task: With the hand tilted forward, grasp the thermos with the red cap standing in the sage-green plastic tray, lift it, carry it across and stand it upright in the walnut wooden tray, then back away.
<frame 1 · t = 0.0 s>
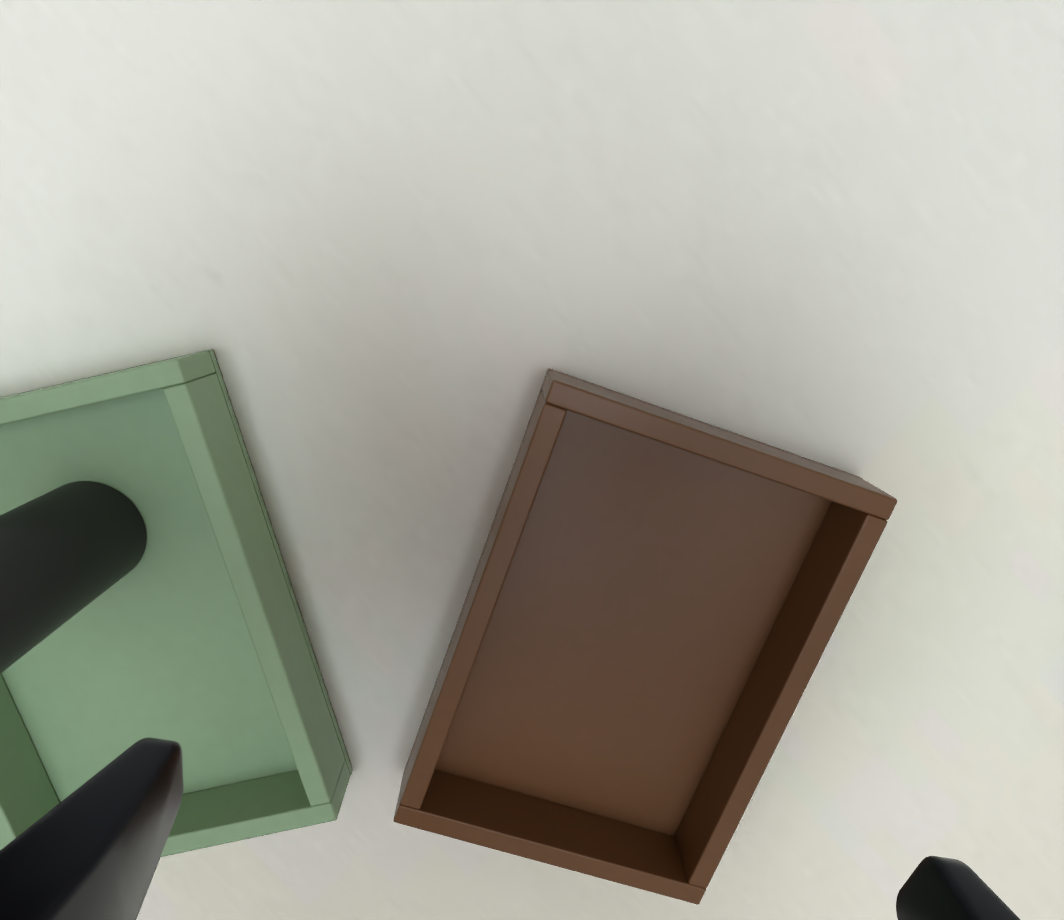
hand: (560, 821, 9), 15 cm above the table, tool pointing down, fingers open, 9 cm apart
green tray: (131, 610, 24), on the table
thermos: (93, 531, 23), resting on green tray
walnut tray: (621, 631, 25), on the table
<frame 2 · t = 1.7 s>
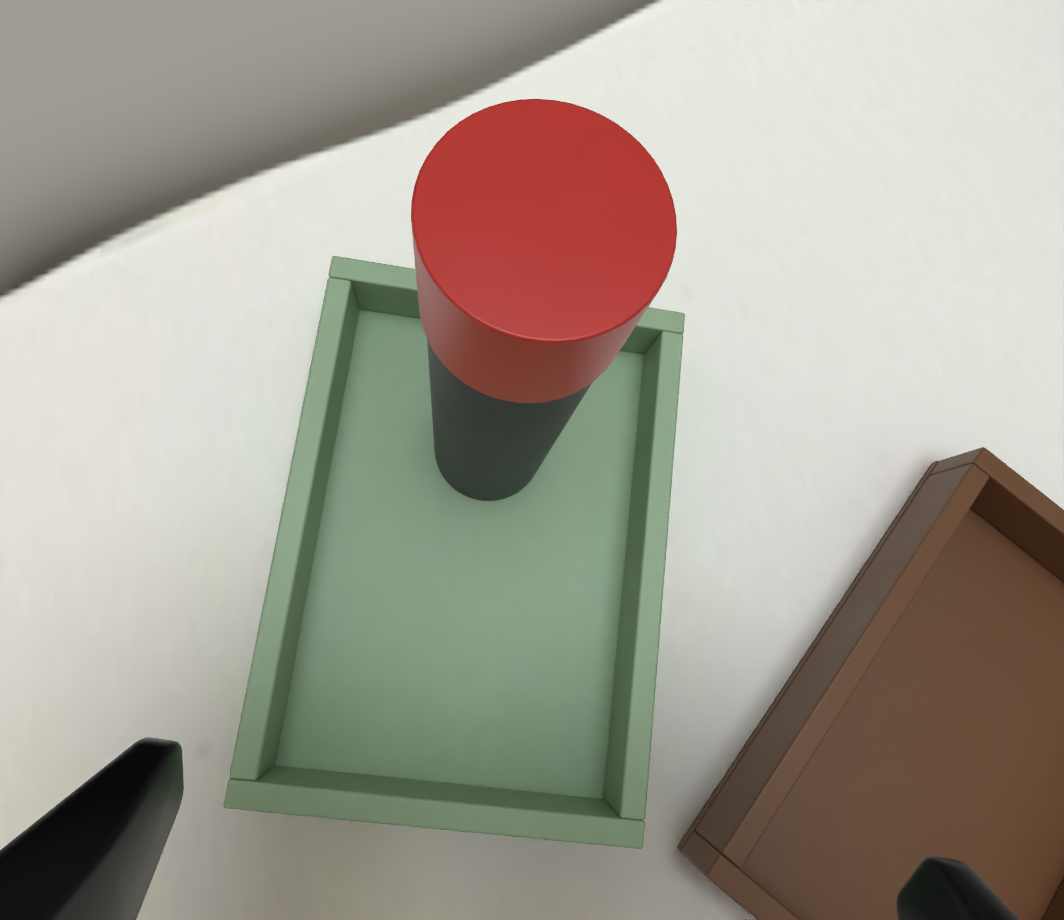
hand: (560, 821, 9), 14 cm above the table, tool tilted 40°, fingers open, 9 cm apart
green tray: (474, 543, 23), on the table
thermos: (488, 448, 23), resting on green tray
walnut tray: (949, 749, 23), on the table
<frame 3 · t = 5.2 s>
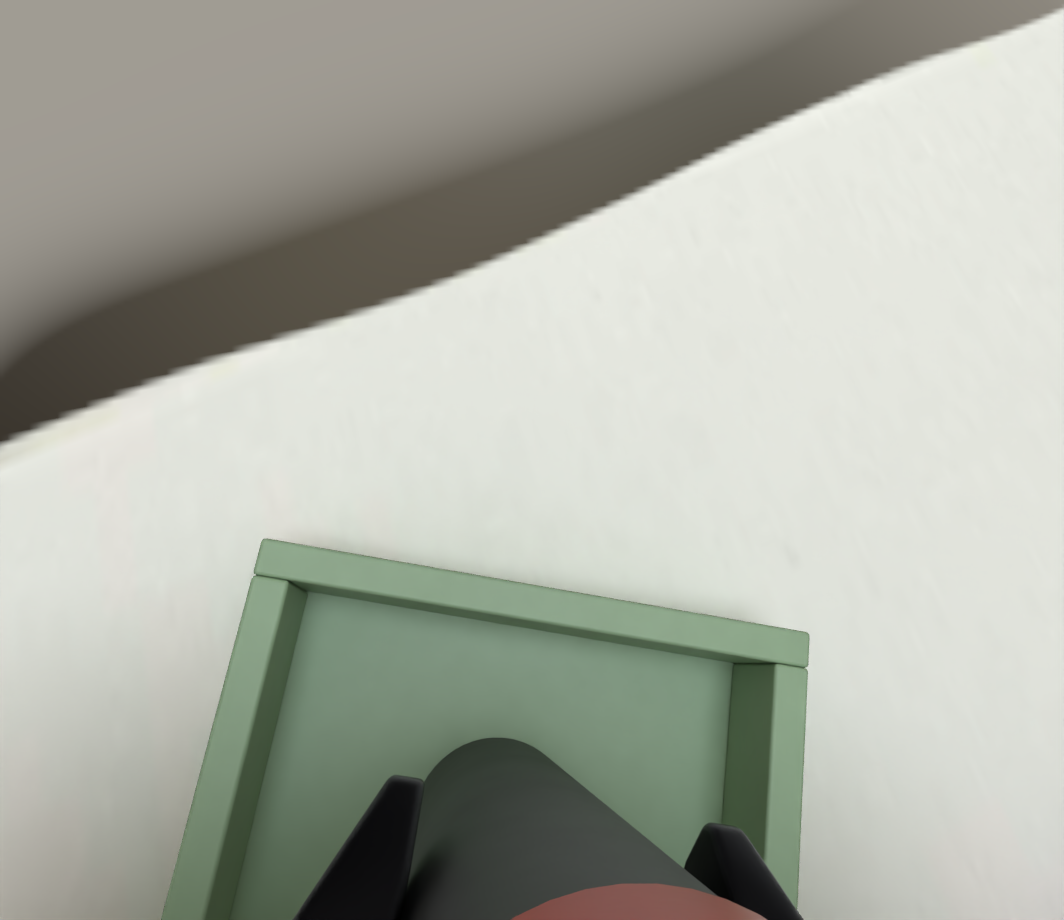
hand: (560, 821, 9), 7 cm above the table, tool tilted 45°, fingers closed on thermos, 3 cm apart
thermos: (494, 825, 15), resting on green tray, touching gripper
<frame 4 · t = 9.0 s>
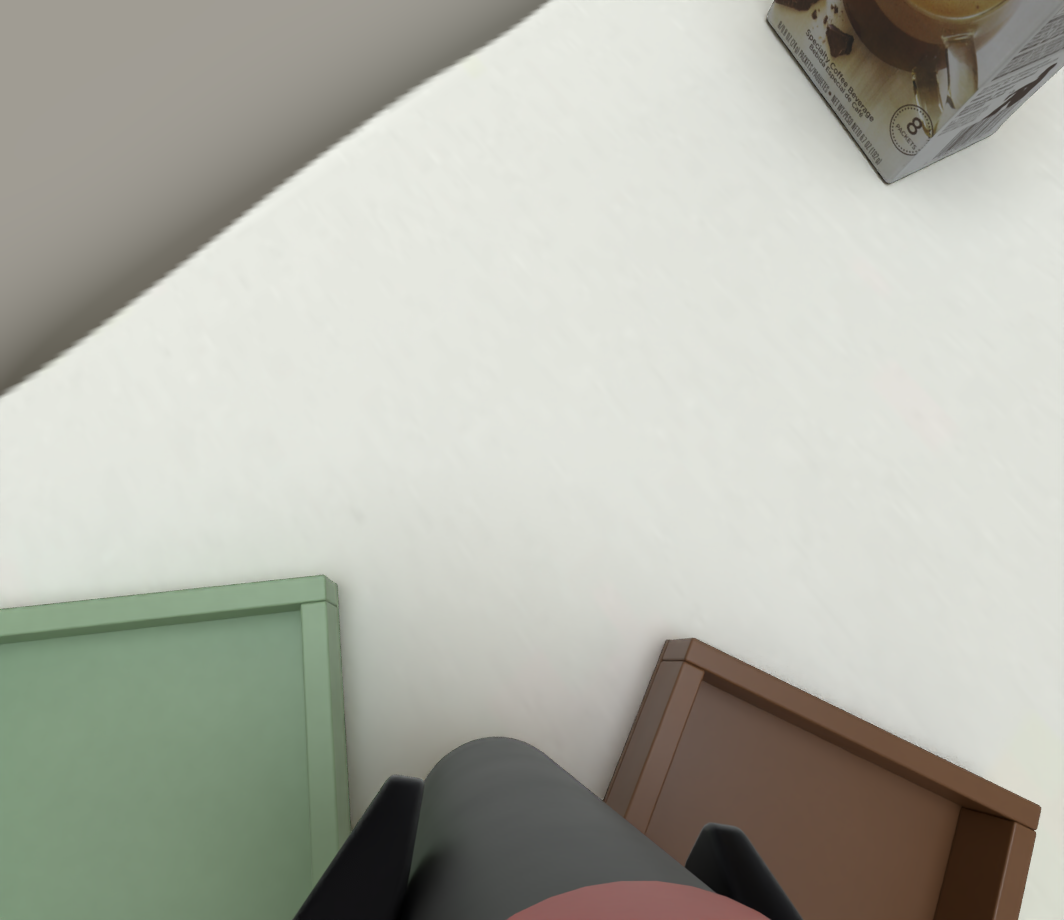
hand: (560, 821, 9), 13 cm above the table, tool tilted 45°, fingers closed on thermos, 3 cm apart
green tray: (142, 898, 19), on the table
thermos: (494, 824, 15), point 6 cm above the table, touching gripper
coffee box: (876, 80, 30), on the table
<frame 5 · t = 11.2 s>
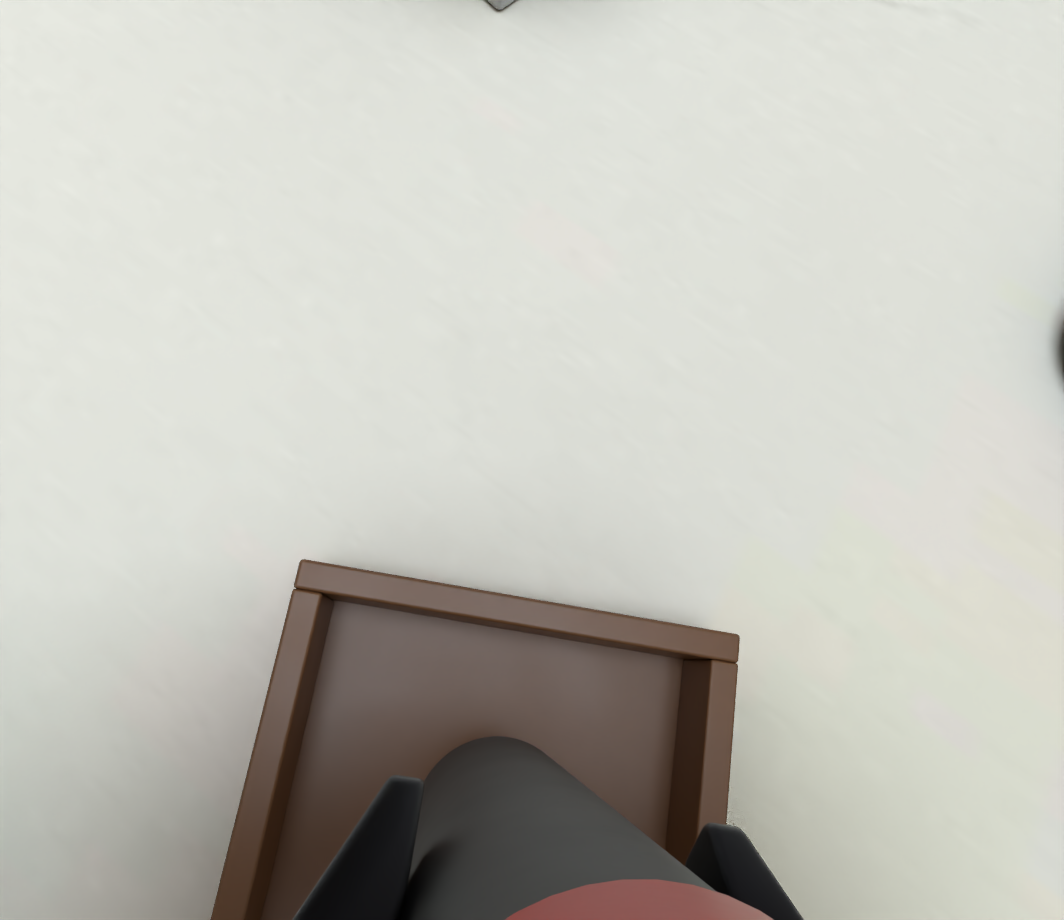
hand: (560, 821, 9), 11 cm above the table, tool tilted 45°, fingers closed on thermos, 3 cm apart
thermos: (494, 824, 15), point 4 cm above the table, touching gripper
walnut tray: (464, 919, 18), on the table
when the fingers open (7 cm above the table, at t = 12.6 s): thermos stays where it is, resting on walnut tray.
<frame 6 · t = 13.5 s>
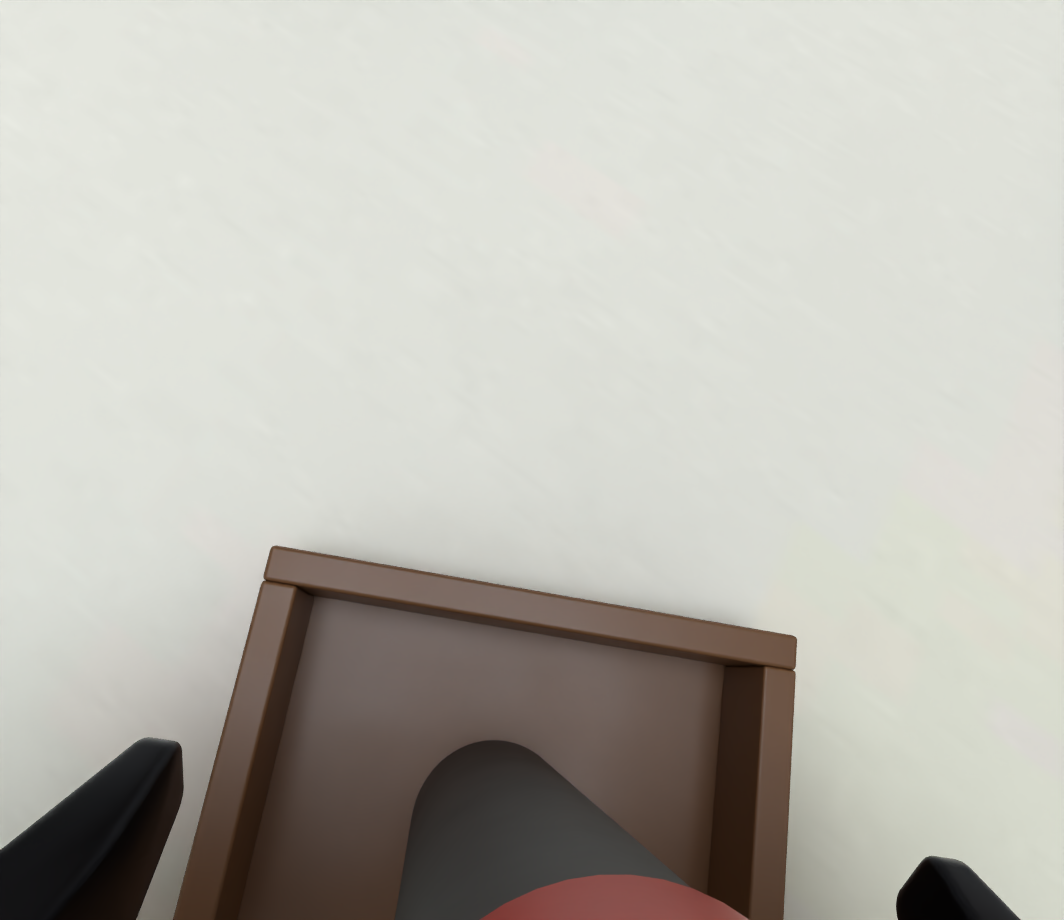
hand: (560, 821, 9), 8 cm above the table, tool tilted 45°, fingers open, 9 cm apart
thermos: (491, 825, 16), resting on walnut tray
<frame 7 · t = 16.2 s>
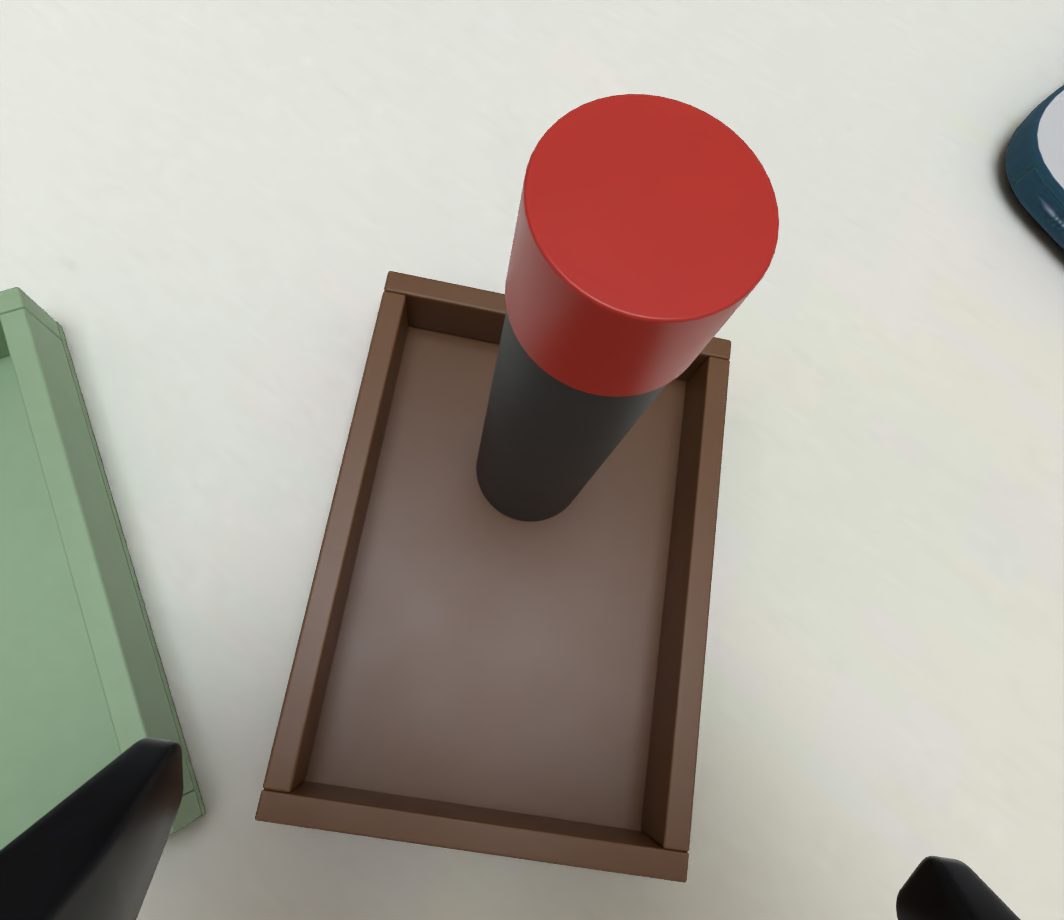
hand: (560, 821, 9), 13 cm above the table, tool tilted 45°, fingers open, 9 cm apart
thermos: (529, 469, 23), resting on walnut tray
walnut tray: (515, 561, 23), on the table
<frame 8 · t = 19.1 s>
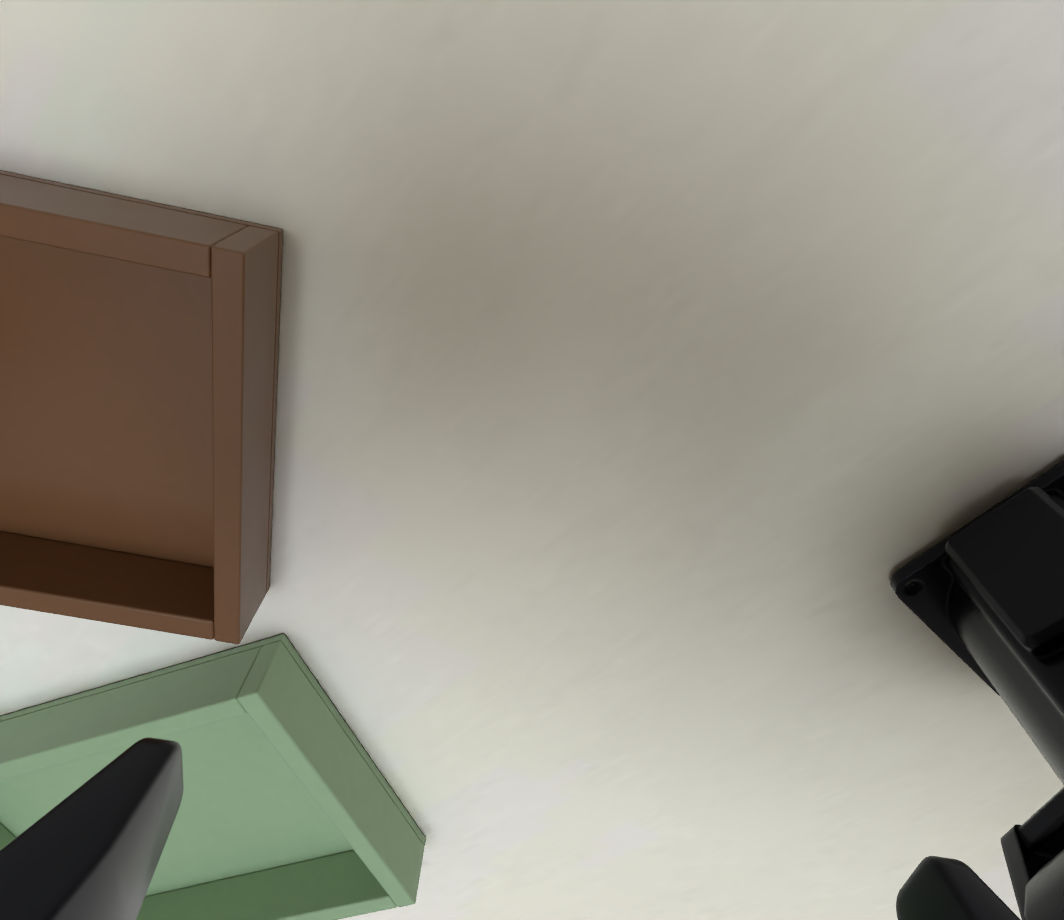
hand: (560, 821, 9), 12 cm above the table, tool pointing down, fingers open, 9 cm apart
green tray: (176, 792, 27), on the table
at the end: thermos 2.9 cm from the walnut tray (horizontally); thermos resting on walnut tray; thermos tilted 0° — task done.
